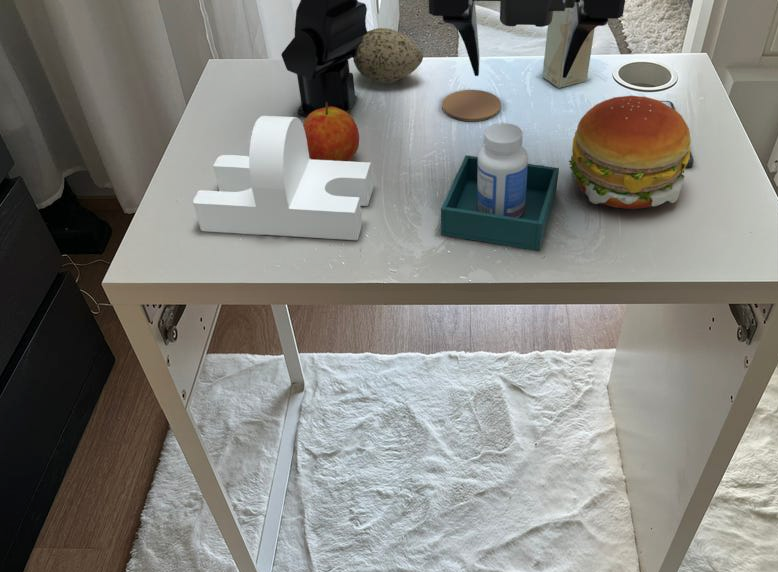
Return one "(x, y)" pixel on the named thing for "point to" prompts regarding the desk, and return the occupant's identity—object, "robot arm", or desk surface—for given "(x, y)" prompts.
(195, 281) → the desk surface
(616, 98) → the burger
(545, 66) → the box
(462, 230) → the bin
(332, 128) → the fruit
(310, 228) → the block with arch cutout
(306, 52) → the robot arm
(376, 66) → the decorative egg
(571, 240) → the desk surface
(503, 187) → the pill bottle
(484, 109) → the coaster
